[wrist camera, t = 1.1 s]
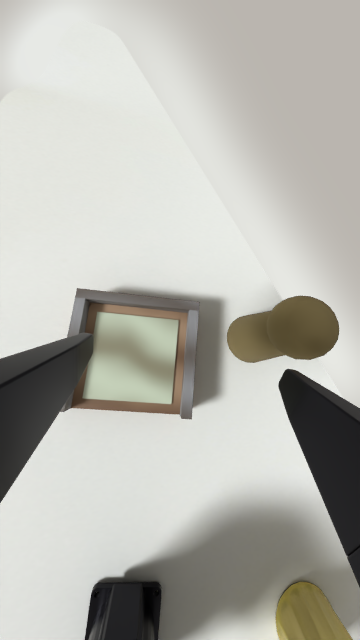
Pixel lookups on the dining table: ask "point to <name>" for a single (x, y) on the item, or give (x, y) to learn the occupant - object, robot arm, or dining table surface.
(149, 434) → the dining table surface
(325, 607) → the vase
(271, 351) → the olive domed stopper
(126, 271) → the dining table surface
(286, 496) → the dining table surface
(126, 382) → the wooden tray
